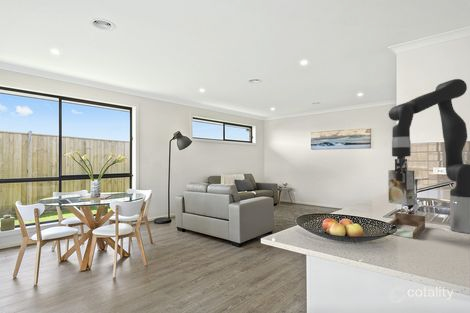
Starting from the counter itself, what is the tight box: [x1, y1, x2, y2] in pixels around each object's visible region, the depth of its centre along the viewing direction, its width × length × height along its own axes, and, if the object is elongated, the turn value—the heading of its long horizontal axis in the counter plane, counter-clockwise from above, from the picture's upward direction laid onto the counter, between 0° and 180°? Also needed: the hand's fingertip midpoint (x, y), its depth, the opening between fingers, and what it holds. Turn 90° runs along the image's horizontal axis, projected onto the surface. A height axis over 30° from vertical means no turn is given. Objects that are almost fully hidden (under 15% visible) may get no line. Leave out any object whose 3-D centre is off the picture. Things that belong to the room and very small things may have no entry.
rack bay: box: [388, 211, 426, 240], centre depth 127 cm, size 13×27×6 cm, turn 136°
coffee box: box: [387, 169, 415, 206], centre depth 122 cm, size 9×6×16 cm
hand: (401, 180), depth 122 cm, fingers closed on coffee box, 8 cm apart
